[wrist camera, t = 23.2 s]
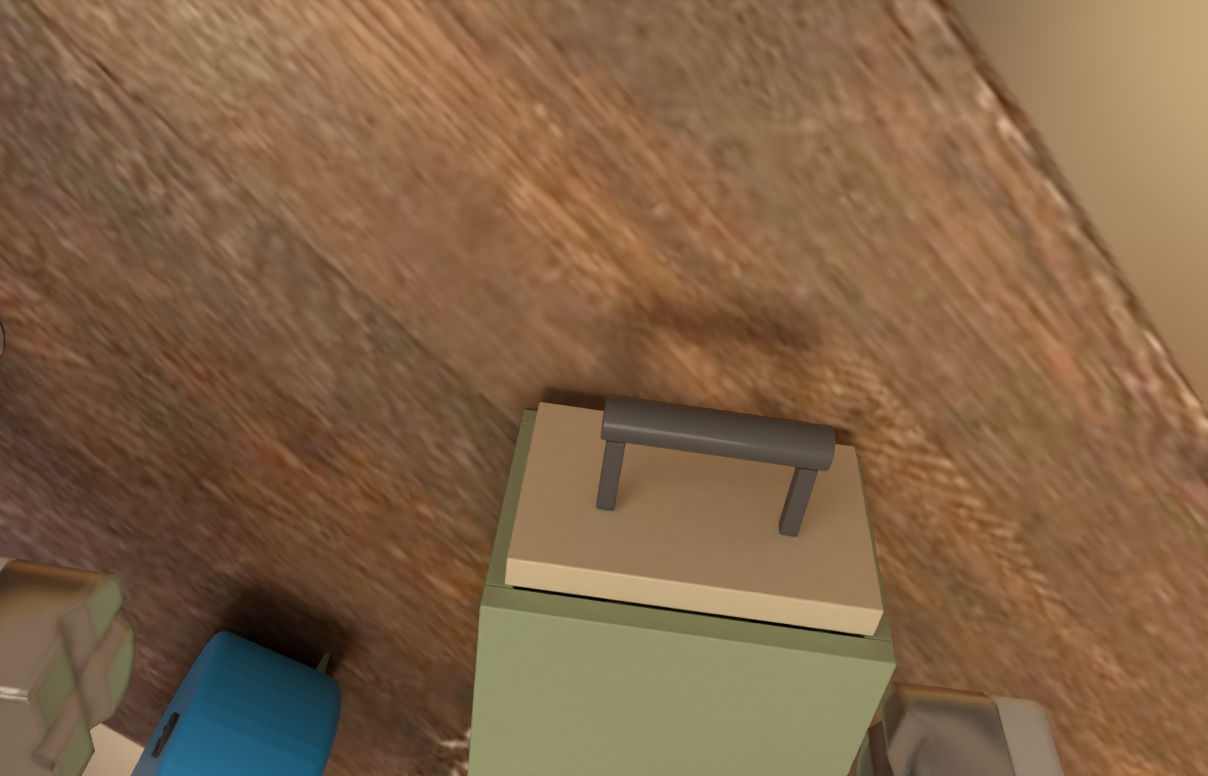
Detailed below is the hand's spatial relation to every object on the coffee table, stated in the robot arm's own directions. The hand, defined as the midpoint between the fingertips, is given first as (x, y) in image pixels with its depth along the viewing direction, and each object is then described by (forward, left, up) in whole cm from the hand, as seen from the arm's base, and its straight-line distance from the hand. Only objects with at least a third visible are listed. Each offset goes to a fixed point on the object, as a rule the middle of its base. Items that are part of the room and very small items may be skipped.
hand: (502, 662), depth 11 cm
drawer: (+15, +14, -23) cm, 31 cm away
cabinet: (+18, +16, -24) cm, 34 cm away
